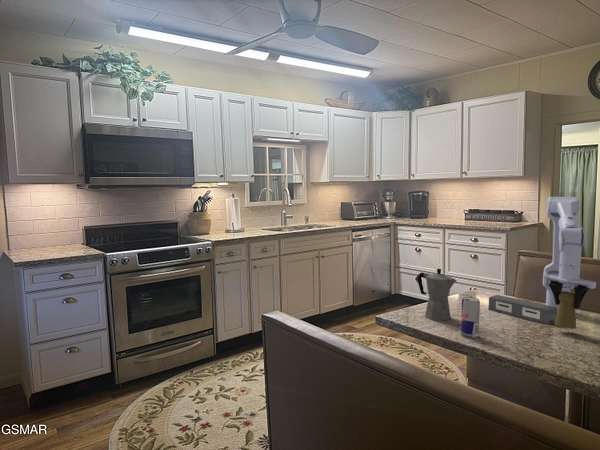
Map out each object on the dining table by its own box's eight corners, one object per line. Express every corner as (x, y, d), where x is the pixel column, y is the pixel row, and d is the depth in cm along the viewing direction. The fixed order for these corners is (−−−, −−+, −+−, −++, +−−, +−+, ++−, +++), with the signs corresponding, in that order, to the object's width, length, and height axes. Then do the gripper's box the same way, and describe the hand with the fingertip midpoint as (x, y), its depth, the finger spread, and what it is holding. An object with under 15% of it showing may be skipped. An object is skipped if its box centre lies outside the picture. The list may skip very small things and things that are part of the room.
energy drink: (457, 332, 136) (459, 296, 135) (473, 332, 137) (474, 296, 136) (465, 338, 131) (466, 301, 130) (481, 338, 132) (483, 300, 131)
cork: (580, 329, 133) (583, 295, 132) (559, 327, 134) (562, 293, 133) (570, 323, 139) (573, 291, 138) (551, 322, 140) (554, 289, 139)
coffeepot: (460, 318, 152) (462, 269, 150) (448, 324, 145) (450, 273, 144) (422, 309, 163) (423, 264, 161) (409, 314, 156) (410, 267, 155)
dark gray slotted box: (496, 307, 166) (497, 294, 165) (556, 321, 148) (557, 307, 148) (488, 309, 162) (488, 297, 162) (548, 324, 144) (549, 310, 144)
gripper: (540, 263, 138) (538, 303, 139) (590, 269, 126) (587, 313, 128) (550, 260, 142) (548, 299, 143) (599, 267, 131) (596, 309, 132)
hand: (567, 306), depth 136 cm, fingers closed on cork, 5 cm apart
